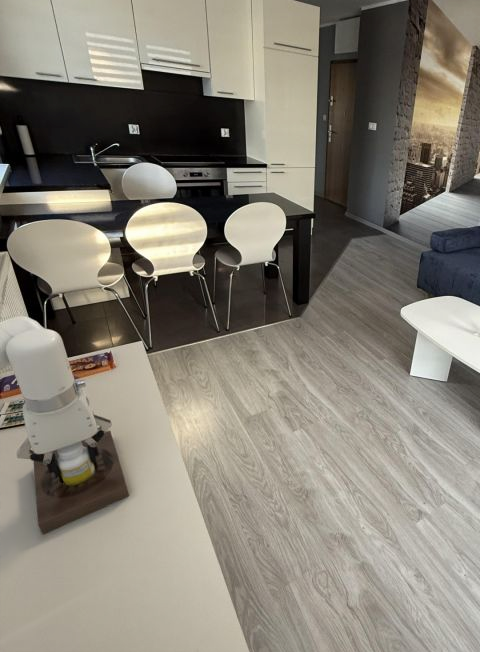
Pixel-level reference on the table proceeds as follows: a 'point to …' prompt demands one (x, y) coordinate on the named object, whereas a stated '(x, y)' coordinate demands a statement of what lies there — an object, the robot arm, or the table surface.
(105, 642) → the table surface
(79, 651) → the table surface
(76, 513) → the socket pad
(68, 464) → the supplement bottle
